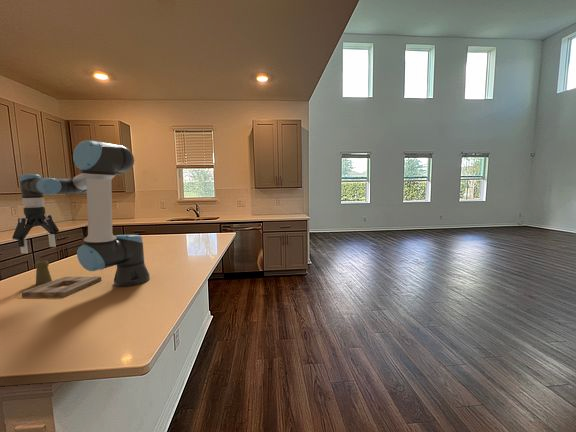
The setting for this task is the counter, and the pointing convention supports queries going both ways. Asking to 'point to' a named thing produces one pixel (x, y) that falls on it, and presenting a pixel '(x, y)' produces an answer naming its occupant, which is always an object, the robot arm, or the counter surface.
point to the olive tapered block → (42, 272)
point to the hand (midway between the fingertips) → (39, 249)
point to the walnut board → (53, 291)
